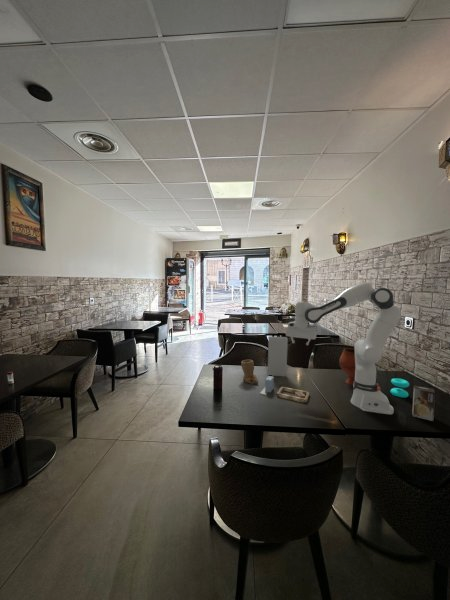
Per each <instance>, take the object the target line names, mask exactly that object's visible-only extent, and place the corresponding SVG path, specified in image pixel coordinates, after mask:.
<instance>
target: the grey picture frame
mask: <svg viewBox="0 0 450 600" xmlns="http://www.w3.org/2000/svg"><path fill="white" fill-rule="evenodd" d="M412 393H413V394H412V410H411V411H412V412H411V413H412V417H414V418H418V419H423V420H427V421H431V422H434V418H435V417H434V416H435V415H434V414H435V403H436V392H435V389H434V388H430V387H425V386H419V385H413V392H412Z"/></svg>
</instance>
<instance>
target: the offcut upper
mask: <svg viewBox="0 0 450 600" xmlns="http://www.w3.org/2000/svg"><path fill="white" fill-rule="evenodd" d="M294 396H296V397H300V398H305V396H306V395H304V394H303V393H302V392H295V393H294Z"/></svg>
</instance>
